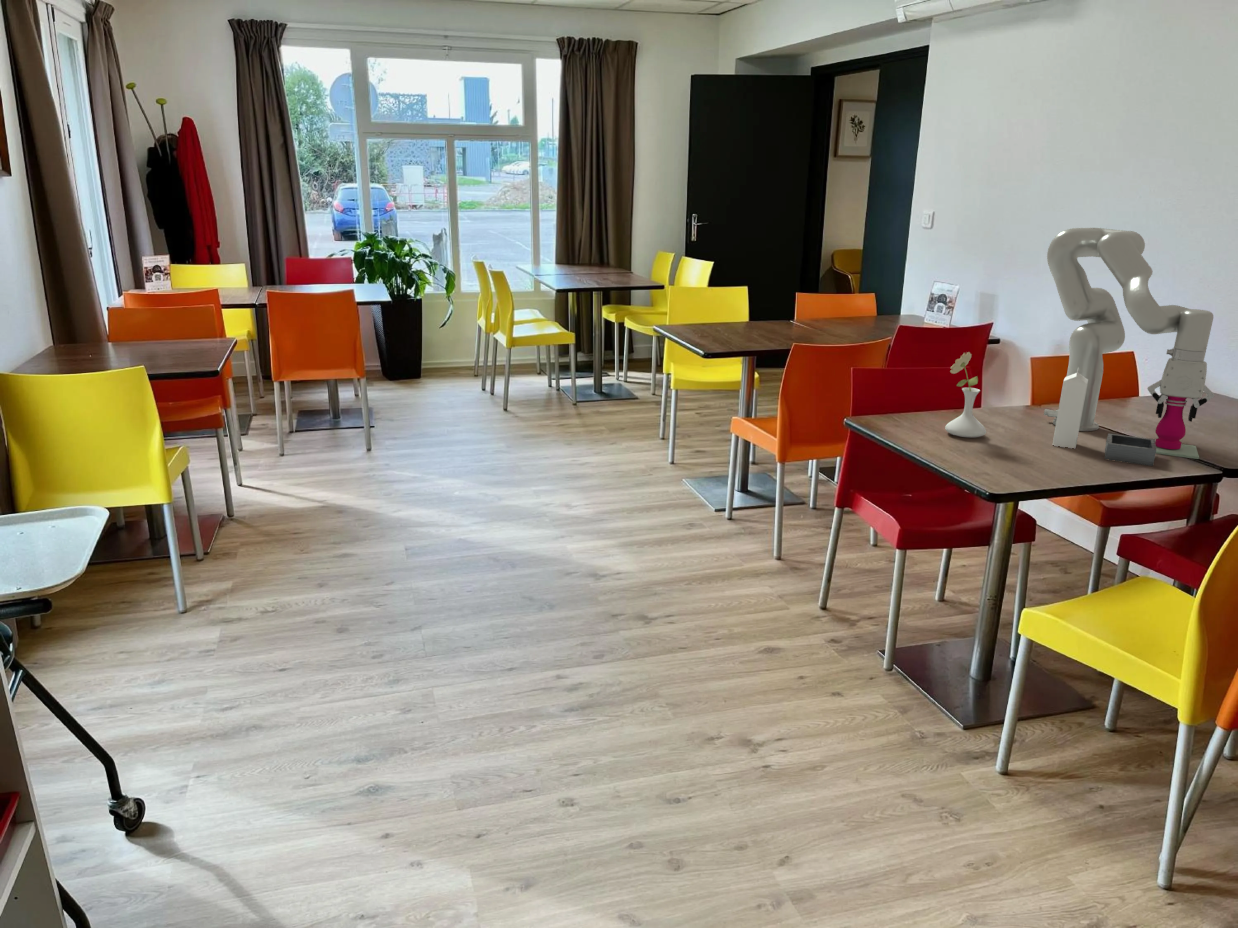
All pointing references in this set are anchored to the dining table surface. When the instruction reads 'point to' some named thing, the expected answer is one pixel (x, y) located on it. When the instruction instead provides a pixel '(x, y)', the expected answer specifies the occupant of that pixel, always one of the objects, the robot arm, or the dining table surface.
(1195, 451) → the mat
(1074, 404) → the milk
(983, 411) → the dining table surface
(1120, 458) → the grey open storage bin
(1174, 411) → the pepper mill
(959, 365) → the flower in vase
